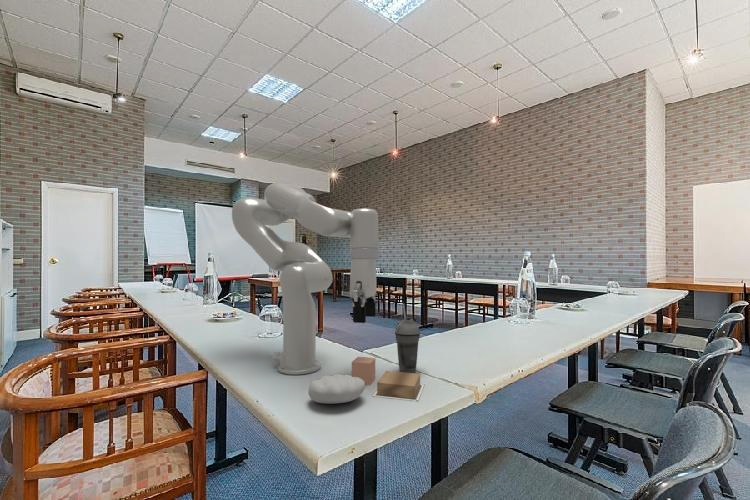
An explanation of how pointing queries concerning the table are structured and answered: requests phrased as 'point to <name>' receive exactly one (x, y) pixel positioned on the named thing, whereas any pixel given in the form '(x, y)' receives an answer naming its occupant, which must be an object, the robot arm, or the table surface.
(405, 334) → the beverage cup
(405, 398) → the pale flat square plate
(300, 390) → the table surface
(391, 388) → the walnut slab
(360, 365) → the terracotta block
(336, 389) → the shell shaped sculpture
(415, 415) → the table surface
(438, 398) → the table surface
